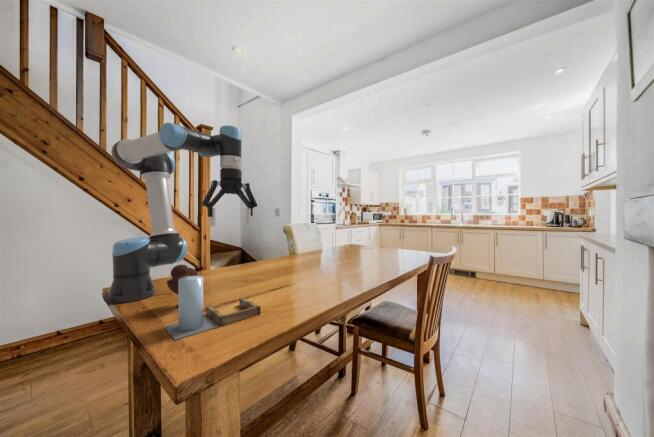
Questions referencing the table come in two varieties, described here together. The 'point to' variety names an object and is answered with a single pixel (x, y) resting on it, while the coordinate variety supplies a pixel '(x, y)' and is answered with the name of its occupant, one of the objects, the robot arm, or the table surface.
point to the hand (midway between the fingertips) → (231, 225)
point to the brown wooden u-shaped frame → (222, 319)
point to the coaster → (179, 334)
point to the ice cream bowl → (179, 276)
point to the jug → (190, 302)
